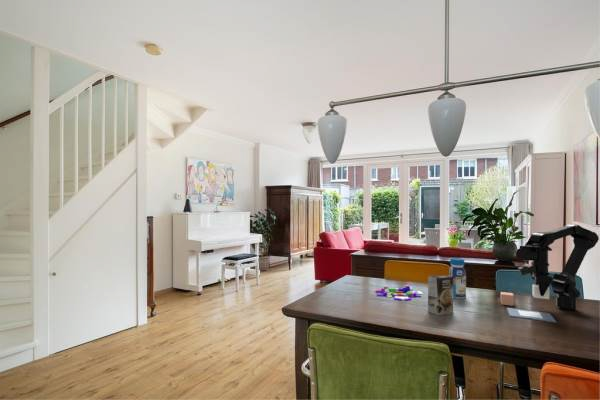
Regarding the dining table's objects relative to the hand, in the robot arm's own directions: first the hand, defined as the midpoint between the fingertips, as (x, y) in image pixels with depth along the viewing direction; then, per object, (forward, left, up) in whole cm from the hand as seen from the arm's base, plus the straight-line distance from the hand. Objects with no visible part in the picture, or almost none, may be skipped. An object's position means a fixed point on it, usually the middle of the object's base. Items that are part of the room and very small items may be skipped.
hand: (540, 294), depth 150 cm
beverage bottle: (+35, -6, -7) cm, 36 cm away
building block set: (+62, +5, -8) cm, 63 cm away
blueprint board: (+6, +12, -7) cm, 15 cm away
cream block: (0, 0, -1) cm, 1 cm away
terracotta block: (+13, -4, -7) cm, 15 cm away
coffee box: (+41, +26, -7) cm, 49 cm away
